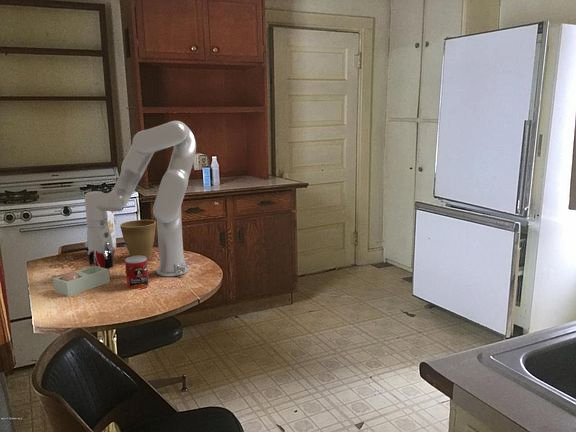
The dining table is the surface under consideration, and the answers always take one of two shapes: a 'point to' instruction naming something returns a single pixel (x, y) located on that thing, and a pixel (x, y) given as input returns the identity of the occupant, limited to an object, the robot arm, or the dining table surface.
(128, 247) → the plant pot
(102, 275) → the caddy
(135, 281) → the canned food
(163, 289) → the dining table surface
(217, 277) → the dining table surface
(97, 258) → the soda can
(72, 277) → the brown egg
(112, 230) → the cracker box
